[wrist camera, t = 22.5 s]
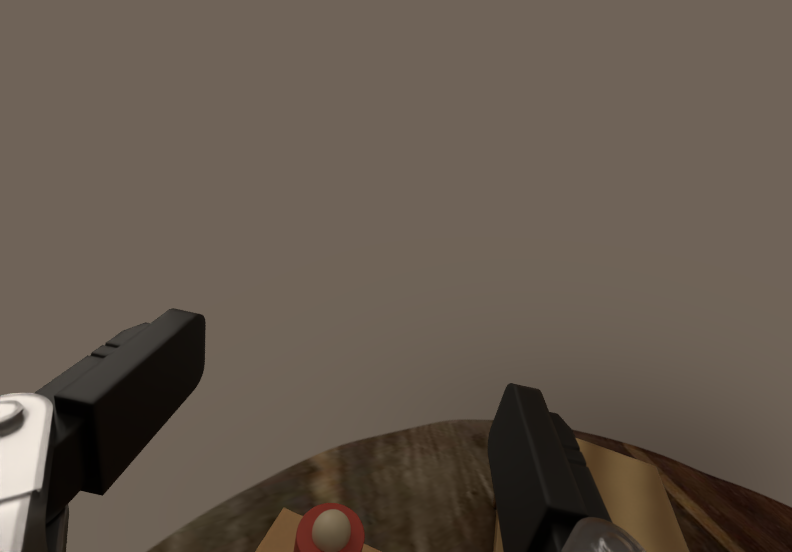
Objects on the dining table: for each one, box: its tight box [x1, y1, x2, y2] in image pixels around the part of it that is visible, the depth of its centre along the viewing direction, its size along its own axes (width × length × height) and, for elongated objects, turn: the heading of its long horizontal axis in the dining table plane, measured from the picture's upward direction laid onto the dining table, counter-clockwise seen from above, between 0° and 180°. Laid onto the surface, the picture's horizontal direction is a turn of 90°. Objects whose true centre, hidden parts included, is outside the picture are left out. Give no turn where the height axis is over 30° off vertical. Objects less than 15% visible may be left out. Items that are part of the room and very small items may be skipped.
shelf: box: [493, 438, 689, 552], centre depth 34 cm, size 12×12×10 cm
